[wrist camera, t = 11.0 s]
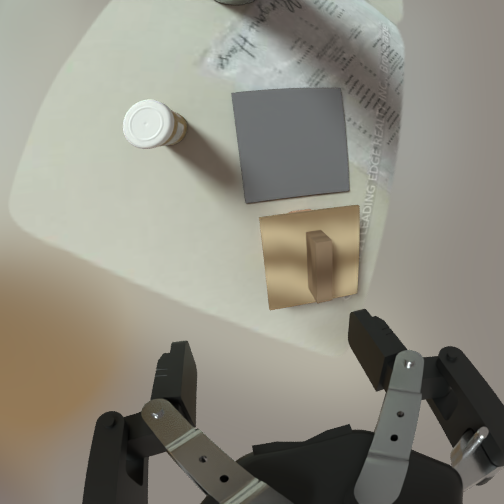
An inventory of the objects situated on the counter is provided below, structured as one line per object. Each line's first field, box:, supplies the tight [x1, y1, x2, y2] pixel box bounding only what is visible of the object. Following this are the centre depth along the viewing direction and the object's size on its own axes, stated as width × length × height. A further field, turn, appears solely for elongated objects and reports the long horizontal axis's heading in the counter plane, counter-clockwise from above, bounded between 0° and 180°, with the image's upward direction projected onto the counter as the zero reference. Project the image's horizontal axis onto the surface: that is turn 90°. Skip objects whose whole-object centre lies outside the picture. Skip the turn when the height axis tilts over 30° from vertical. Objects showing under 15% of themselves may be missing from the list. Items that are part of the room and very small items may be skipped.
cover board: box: [259, 205, 359, 310], centre depth 36 cm, size 13×13×5 cm
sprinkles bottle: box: [123, 100, 187, 149], centre depth 28 cm, size 5×5×13 cm
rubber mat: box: [231, 88, 349, 203], centre depth 37 cm, size 15×15×1 cm
